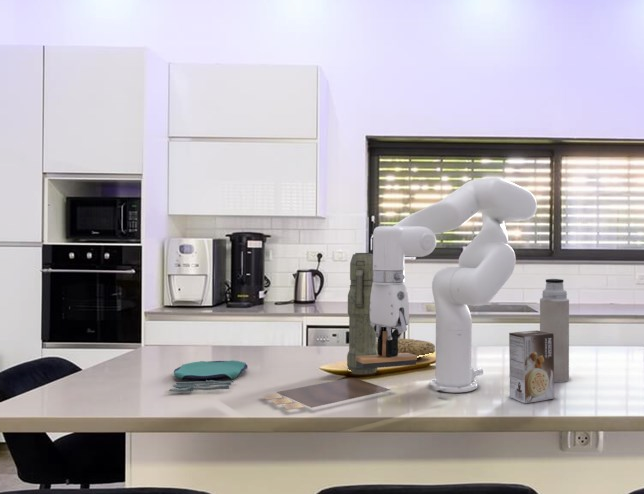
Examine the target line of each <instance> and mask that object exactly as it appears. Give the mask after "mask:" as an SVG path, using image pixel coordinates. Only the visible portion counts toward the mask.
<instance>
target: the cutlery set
mask: <svg viewBox="0 0 644 494" xmlns="http://www.w3.org/2000/svg"><path fill="white" fill-rule="evenodd" d="M246 370H248V364H246V362H245V361H240V360H235V359H234V360H233V359H232V360H213V361H212V360H209V361H204V360H203V361H202V360H200V361H193V362H189V363H185V364H184V363H183V364H182V365H181V366H178V367H177V368H175V369H174V370H173V376H174V377H175V378H177V379H182V380H184V379H193V380H194V379H198V380H199V379H206V380H205V381H178V382H175V384H173V385H172V387H173V388H169V390H168V392H172V393H173V392H174V393H175V392H190V393H191V392H194V391H195V390H199V391H213V390H214V391H215V390H229V389H230V386H231V385H232V384H234V380H235V379H236V378H237V377H238V376H239V375H240V373H243V372H245V371H246ZM225 377H229V378H230V380H213V379H217V378H225ZM207 379H210V380H207Z"/></svg>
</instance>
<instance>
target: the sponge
mask: <svg viewBox="0 0 644 494" xmlns="http://www.w3.org/2000/svg"><path fill="white" fill-rule="evenodd" d="M376 349H377V352H378V341H376ZM398 353H410V354H413V355H417V356H419V355H425V354H429V353H432V354H434V353H436V345H435V344H434V343H432V342H430V341H426V340H421V339H420V340H419V339H413V338H404V337H403V338H400V339H398Z"/></svg>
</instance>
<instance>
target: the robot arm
mask: <svg viewBox="0 0 644 494" xmlns="http://www.w3.org/2000/svg"><path fill="white" fill-rule="evenodd" d="M537 208H538V205H537V199H536V196H535V195H534V194H533V193H532V192H531V191H530V190H528V189H526V188H525V187H522V186H520V185H518V184H517V183H514V182H511V181H509V180H506V179H504V178H501V177H487V178H477V179H472V180H469V181H467V182H465V183H464V184H462V185H461V186H460V187H458V188H457V189H455V190H454V191H453V192H451V193H450V194H448V195H447V196H445V197H444V198H442V199H441V200H440V201H437V202H435V203H433V204H430V205H428V206H426V207H424V208H422V209H420V210H418V211H416V212H415V211H414V213H411V214H410V215H407V216H406V217H404V218H403V219H401V220H399V221H398V222H397V223H396V224H394V225H379V226H376V227H375V228H374V229H373V233H372V254H373V284H372V289H371V297H370V321H371V322H370V325H371V326H372V327H373V328H374V330H375V332H376V339H377V342H378V355H382V339H383V331H388V340H386V357H394V356H397V355H398V339H401V335H402V334H404V333H406V332H407V331H408V327H407V326H408V325H409V324H410V306H409V305H410V303H409V302H410V301H409V293H408V288H407V284H405V257H411V258H423V257H426V256H429V255H430V254H431V253H433V251H434V250H435V248H436V247H437V237H436V235H439V234H443V233H448V232H451V231H454V230H457V229H459V228H460V227H461V226H463V225H464V224H465V223H466V222H468V221H469V220H470V219H472V218H473V217H475V216H476V215H477V214H478V213H480V212H481V219H482V220H481V221H482V225H481V226H482V227H481V230H480V231H479V232H478V233H477V235H476V236H475V237H474V238H473V239H472V240H471V241H470V242H469V244H468V245H466V247H464V249H463V250H462V252H461V253H460V255H459V258H458V266H446V267H444V268H441V269H439V270H438V271H436V273H435V274H434V276H433V278H432V282H431V290H432V296H433V302H434V309H435V378H433V379H431V380H430V381H429V385H430V386H432V387H433V388H434V387H435V388H437V389H439V390H437V391H438V392H443V393H453V394H454V393H456V394H457V393H468V392H472V391H475V390H477V389H478V382H477V380H475V378H476V377H480V376H483V374H484V370H483V368H482V367H479V368H474V367H472V364H473V363H472V362H473V361H472V360H473V358H472V356H473V354H472V352H473V351H472V350H473V346H472V345H473V344H472V343H473V342H472V341H473V340H472V339H473V338H472V337H473V320H472V315H471V312H470V311H471V310H470V309H469V306H474V307H481V306H485V305H487V304H488V303H490V302H491V301H492V300H493V299H494V297H496V295H497V294H498V293H499V291H500V290H501V289H502V287H503V286H504V285H505V284H506V283H507V281H509V279H510V277H511V276H512V274H513V272H514V270H515V267H516V263H517V261H516V260H517V259H516V254H515V251H514V249H513V248H512V247H511V246H510V245H509V244H508V243H509V236H508V232H507V229H506V225H505V222H522V221H527V220H528V221H529V220H530V219H532V218H533V217H534V215H536V213H537ZM392 331H393V332H392Z"/></svg>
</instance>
